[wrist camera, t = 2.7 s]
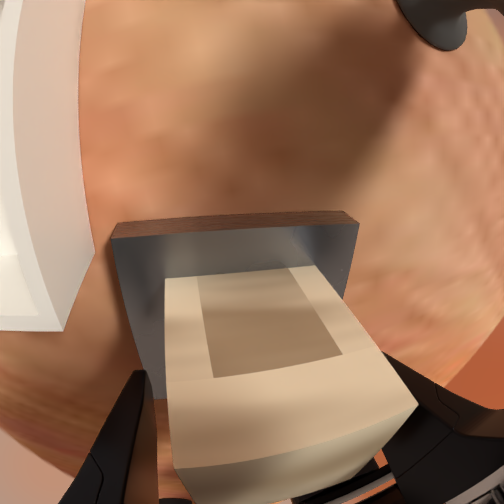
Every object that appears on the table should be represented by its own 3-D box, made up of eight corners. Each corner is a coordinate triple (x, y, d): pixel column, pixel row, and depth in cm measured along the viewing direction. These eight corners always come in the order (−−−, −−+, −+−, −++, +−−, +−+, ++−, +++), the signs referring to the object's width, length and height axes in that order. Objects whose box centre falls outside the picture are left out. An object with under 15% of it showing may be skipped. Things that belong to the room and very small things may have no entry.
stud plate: (311, 358, 14) (349, 431, 10) (153, 379, 13) (158, 467, 9) (343, 210, 11) (425, 277, 7) (117, 222, 9) (80, 316, 5)
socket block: (296, 361, 12) (351, 478, 7) (182, 378, 11) (202, 513, 6) (315, 265, 10) (418, 404, 5) (164, 278, 9) (173, 469, 4)
